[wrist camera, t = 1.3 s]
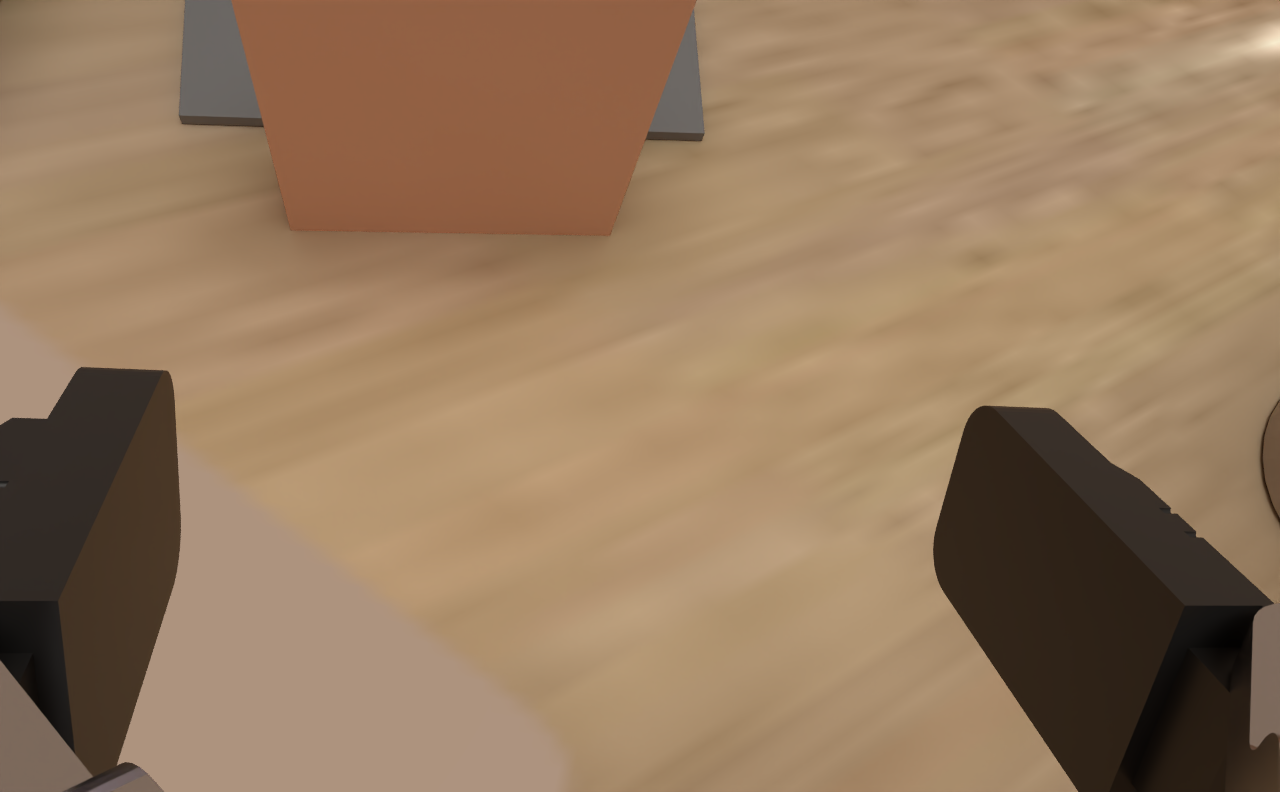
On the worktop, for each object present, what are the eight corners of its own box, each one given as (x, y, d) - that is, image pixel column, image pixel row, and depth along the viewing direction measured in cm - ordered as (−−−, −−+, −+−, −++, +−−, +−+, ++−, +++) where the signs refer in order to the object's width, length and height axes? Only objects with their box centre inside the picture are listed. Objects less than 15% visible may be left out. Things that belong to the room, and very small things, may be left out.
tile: (605, 159, 46) (694, -127, 31) (609, 235, 45) (703, -21, 30) (292, 150, 43) (223, -164, 28) (290, 230, 43) (217, -51, 28)
